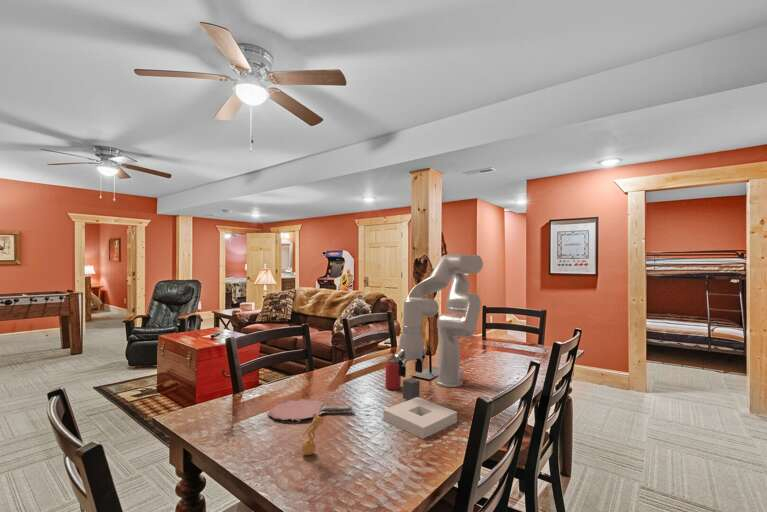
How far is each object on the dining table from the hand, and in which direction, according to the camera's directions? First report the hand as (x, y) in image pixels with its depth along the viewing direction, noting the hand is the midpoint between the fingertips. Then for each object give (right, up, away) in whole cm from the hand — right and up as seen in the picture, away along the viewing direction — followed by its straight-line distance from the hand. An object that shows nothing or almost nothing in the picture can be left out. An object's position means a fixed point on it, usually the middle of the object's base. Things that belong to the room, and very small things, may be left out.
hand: (410, 374), depth 143 cm
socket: (+2, -11, -17) cm, 20 cm away
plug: (0, -11, 0) cm, 11 cm away
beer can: (-7, -11, +15) cm, 19 cm away
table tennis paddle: (-37, -11, -12) cm, 41 cm away
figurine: (-31, -10, -41) cm, 52 cm away
